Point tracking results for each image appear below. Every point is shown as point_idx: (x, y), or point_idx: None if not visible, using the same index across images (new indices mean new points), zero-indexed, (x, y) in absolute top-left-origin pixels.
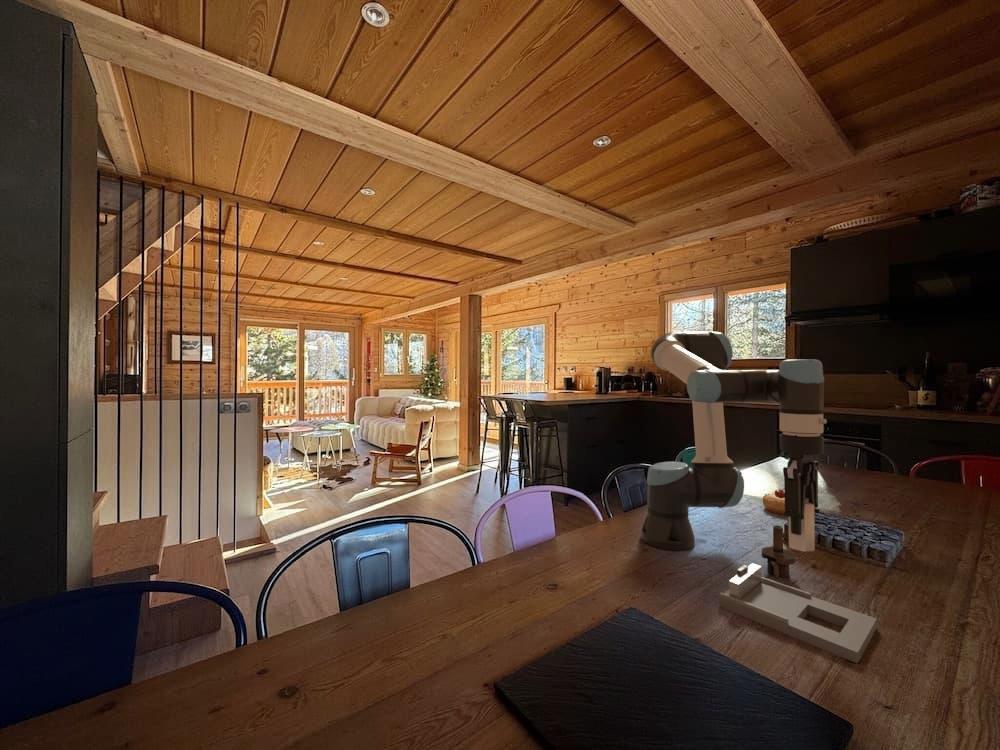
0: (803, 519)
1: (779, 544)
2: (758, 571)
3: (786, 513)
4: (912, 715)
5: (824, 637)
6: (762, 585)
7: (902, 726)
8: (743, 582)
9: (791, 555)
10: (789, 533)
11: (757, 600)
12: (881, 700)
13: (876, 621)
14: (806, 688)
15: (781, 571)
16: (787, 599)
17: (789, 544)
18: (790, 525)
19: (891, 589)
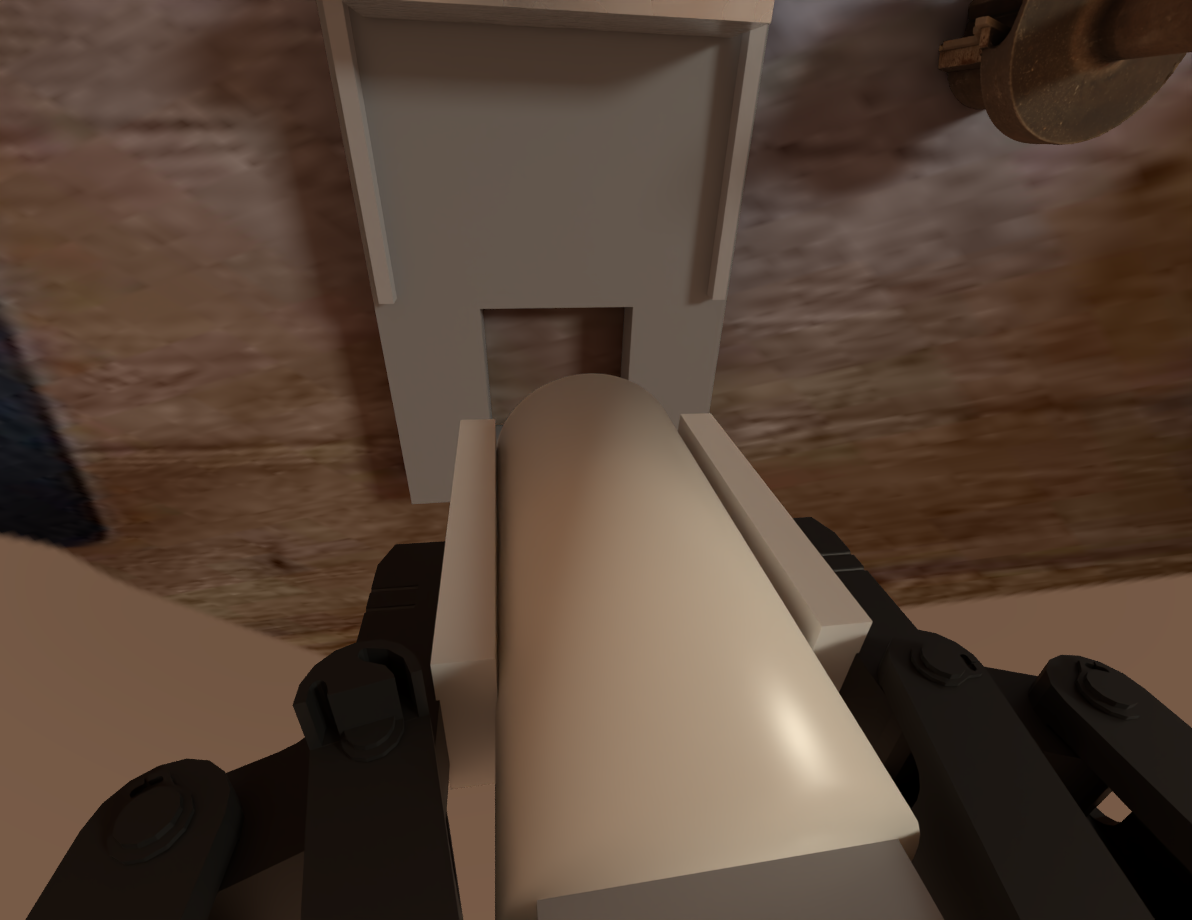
0: (452, 777)
1: (1154, 34)
2: (707, 22)
3: (106, 835)
4: (304, 595)
5: (410, 421)
6: (687, 61)
7: (234, 593)
8: (430, 5)
9: (1089, 118)
10: (451, 495)
11: (477, 108)
12: (293, 551)
13: None
14: (117, 432)
15: (970, 78)
16: (616, 225)
17: (528, 401)
18: (447, 568)
19: (1019, 437)
